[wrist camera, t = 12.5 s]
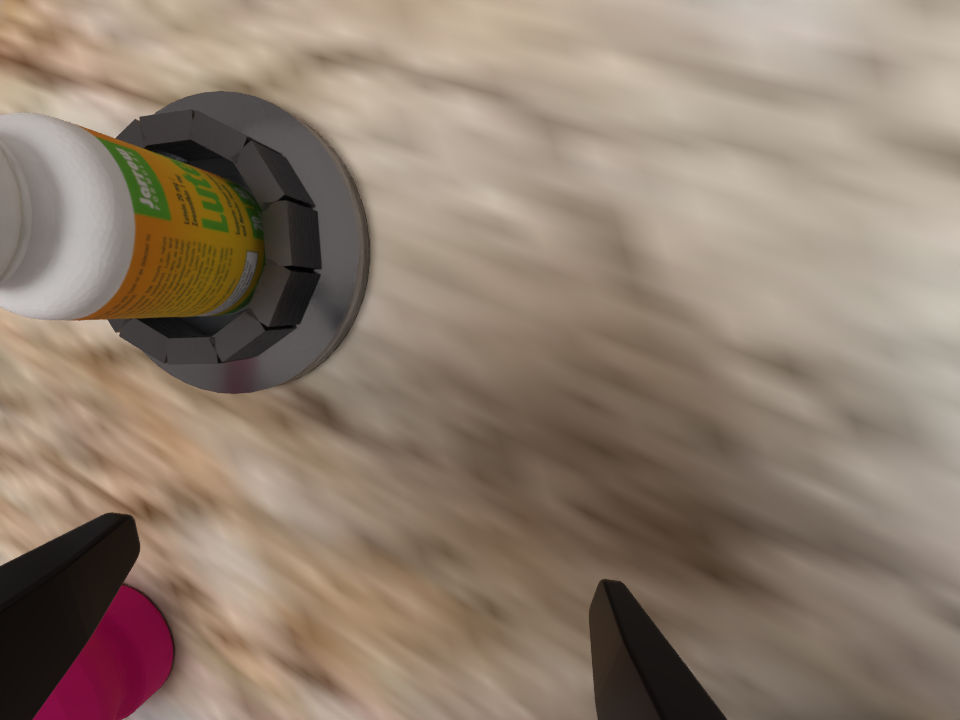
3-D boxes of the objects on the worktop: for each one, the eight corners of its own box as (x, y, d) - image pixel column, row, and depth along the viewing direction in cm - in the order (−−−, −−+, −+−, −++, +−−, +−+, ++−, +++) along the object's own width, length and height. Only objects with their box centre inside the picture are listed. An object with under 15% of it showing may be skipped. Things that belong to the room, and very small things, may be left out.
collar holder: (379, 387, 20) (341, 403, 17) (141, 389, 22) (70, 403, 19) (358, 84, 19) (314, 41, 16) (108, 122, 21) (27, 91, 18)
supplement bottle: (308, 237, 19) (24, 166, 9) (237, 342, 20) (-79, 377, 10) (210, 151, 19) (-158, 0, 10) (146, 260, 20) (-238, 221, 11)
